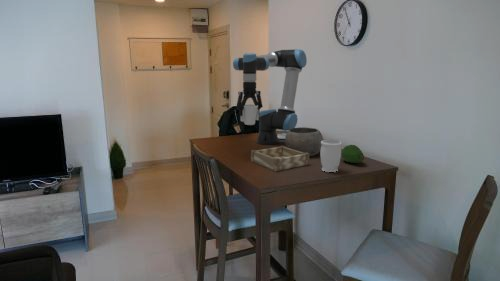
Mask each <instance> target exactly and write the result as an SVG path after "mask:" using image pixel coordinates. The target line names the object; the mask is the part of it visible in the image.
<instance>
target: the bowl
mask: <svg viewBox="0 0 500 281" xmlns="http://www.w3.org/2000/svg"><path fill="white" fill-rule="evenodd" d="M321 141H324V137H323V134H322V132H321V131H320V130H319V129H318V128H313V127H295V128H292V129H290V130H287V131H286V134H285V140H284V142H285V147H286V148H290V149H293V150H297V151H300V152H303V153H306V152H307V153H310V154H309V158H310V157H314V156H317V155H318V154H320V150H321V146H322V144H321Z"/></svg>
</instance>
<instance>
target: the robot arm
mask: <svg viewBox="0 0 500 281" xmlns="http://www.w3.org/2000/svg"><path fill="white" fill-rule="evenodd" d="M307 63H308V62H307V55H306V52H305V51H304V50H303V49H298V48H297V49H296V48H295V49H281V50H277V51H272V52H268V53H266V54H260V55H259V54H258V55H257V54H256V53H253V52H252V53H248V52H246V53H244V54H243V55H242V57H236V58H234V59H233V62H232V66H233V69H234V70H235V71H239V72H240V71H242V80H243V82H242V89H243V90H242V91H238V93H237V94H238V97H237V103H236V108H235V109H236V110H238V111H239V112H238V113H239V114H238V115H239V116H240V122H242V123H244V110H243V108H244V106H245V105H246V104H247V101H248V100H249V99H250V98H251V100H252V102H253V105H255V106H257V105H258V108H257V114H256V120H255V121H258V122H259V123H258V125H259V131H258V135H257V138H256V143H257V144H259V145H262V146H263V145H265V146H266V145H267V146H268V145H269V146H272V145H277V144H278V143H279V137H278V134H277V130H281V131H286V132H287V131H289V130H290V129H292V128H296V126H297V124H298V120H299V119H298V115H297V114H296V110H295V109H294V106H295V100H296V93H297V88H298V81H299V75H300V73H301V72H302V70H303V68H305V67H306V65H307ZM274 67H276V68H283V69H284V71H285V75H284V76H285V77H284V81H283V82H284V83H283V88H282V95H281V102H280V103H281V104H280V106H279V107H278V108H277V109H276V108H275V109H264V110H261V108H263V101H262V97H261V90H257V82H256V81H257V71H260V72H261V71H262V72H263V71H267V70H268V69H269V68H274ZM260 110H261V111H260Z"/></svg>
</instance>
